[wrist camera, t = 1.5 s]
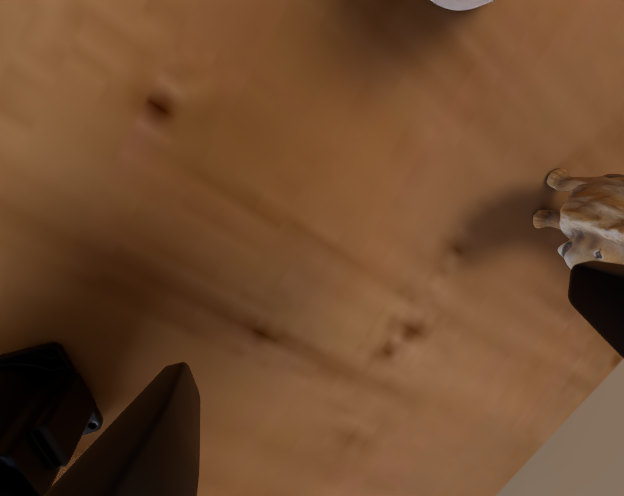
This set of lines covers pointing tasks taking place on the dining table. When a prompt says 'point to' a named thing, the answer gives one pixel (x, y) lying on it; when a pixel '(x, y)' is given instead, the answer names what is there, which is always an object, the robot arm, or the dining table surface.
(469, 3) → the can
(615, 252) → the lion figurine
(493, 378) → the dining table surface
